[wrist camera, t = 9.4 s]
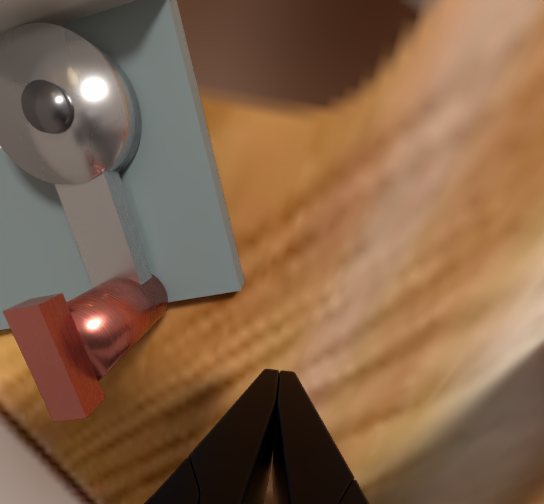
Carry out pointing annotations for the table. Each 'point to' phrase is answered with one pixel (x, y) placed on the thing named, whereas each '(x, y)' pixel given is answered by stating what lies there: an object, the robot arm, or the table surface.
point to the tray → (49, 11)
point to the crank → (78, 209)
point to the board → (132, 177)
